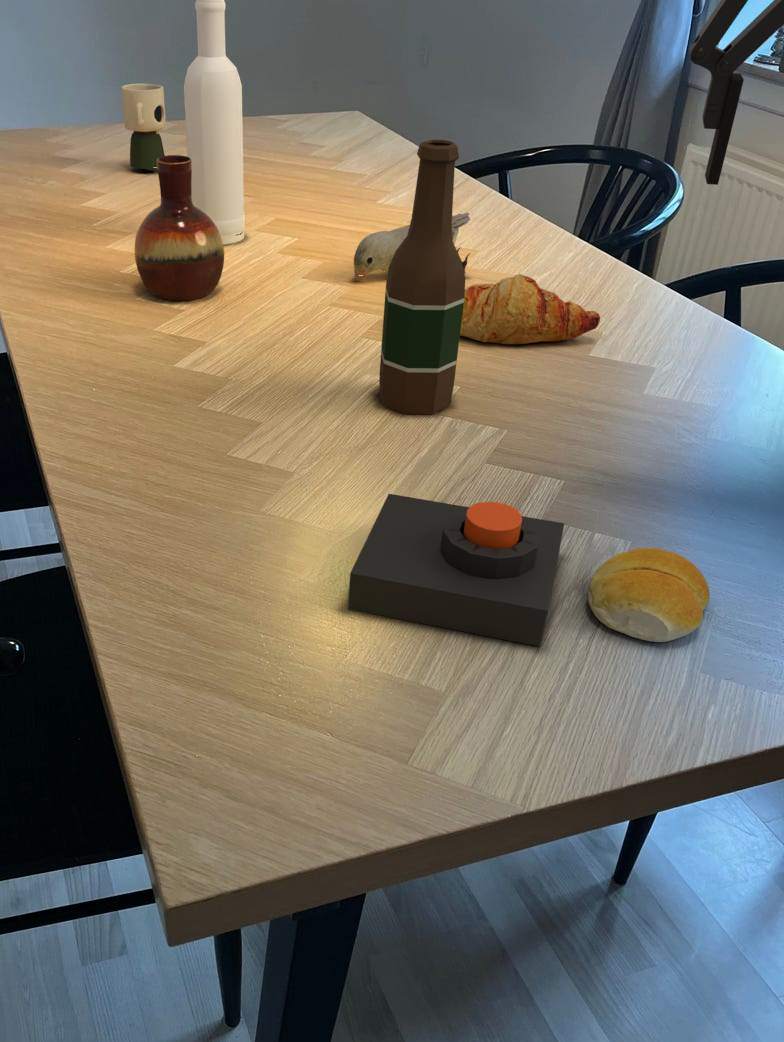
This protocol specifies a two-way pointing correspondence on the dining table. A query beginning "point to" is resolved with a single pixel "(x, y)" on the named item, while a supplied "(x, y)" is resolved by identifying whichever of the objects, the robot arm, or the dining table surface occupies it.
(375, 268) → the decorative bird
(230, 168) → the bottle
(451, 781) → the dining table surface
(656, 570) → the bread roll
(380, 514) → the push button switch
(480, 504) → the orange button cap
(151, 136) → the character mug
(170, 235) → the vase
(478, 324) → the croissant
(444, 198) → the beer bottle
